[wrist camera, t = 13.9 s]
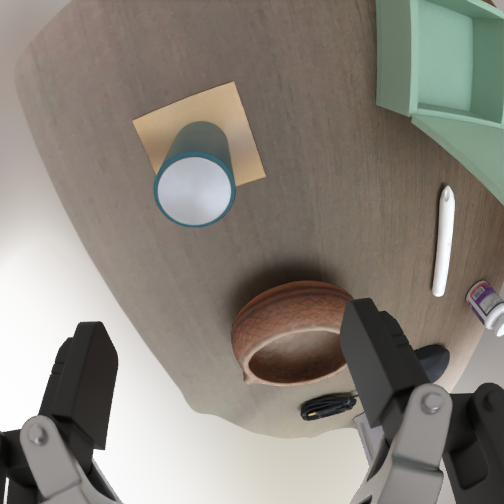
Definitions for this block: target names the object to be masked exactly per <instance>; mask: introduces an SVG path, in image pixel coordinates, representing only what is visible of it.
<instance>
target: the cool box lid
mask: <svg viewBox="0 0 504 504" xmlns="http://www.w3.org/2000/svg"><path fill="white" fill-rule="evenodd" d="M411 123H413V124H414V125H415V126H417V127H418V128H419V129H420V130H422V131H423V132H424V133H426V134H427V135H428V136H429V137H431V138H432V139H433V140H434V141H435V142H437V143H438V144H439V145H440V146H442V147H443V148H444V149H445V150H446V151H447V152H449V153H450V154H451V155H452V156H453V157H454V158H455V159H457V160H458V161H459V162H460V163H461V164H462V165H463V166H464V167H465V168H467V169H468V170H469V171H470V172H471V173H472V174H473V175H474V176H475V177H476V178H477V179H478V180H479V181H480V182H481V183H482V184H483V185H484V186H485V187H486V188H487V189H488V190H489V191H490V192H491V193H492V194H493V195H494V196H495V197H496V198H497V199H498V200H499V201H500V202H501V203H502V204H503V205H504V130H502V129H497V128H493V127H488V126H483V125H478V124H473V123H468V122H462V121H456V120H450V119H444V118H437V117H430V116H422V115H414V114H413V115H412V120H411Z"/></svg>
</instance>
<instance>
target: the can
mask: <svg viewBox="0 0 504 504" xmlns="http://www.w3.org/2000/svg"><path fill="white" fill-rule="evenodd" d="M235 194H236V185H235V179H234V173H233V168H232V162H231V156H230V151H229V145H228V140H227V137H226V135H225V134H224V132H223V131H222V130H221V129H220V128H219V127H218V126H216V125H215V124H213V123H210V122H205V121H198V122H193V123H190V124H188V125H186V126H185V127H183V128H182V129H181V130H180V131H179V133H178V134H177V136H176V138H175V140H174V141H173V143H172V145H171V147H170V149H169V151H168V153H167V155H166V157H165V159H164V161H163V163H162V165H161V167H160V169H159V171H158V173H157V175H156V178H155V181H154V197H155V201H156V203H157V206H158V207H159V209H160V210H161V212H162V213H163V214H164V215H165V216H166V217H167V218H168V219H169V220H171V221H173V222H174V223H176V224H179V225H182V226H185V227H193V228H196V227H204V226H208V225H211V224H213V223H215V222H217V221H219V220H220V219H221V218H223V217H224V216H225V215H226V214H227V212H228V211H229V210H230V208H231V206H232V204H233V202H234V199H235Z"/></svg>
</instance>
